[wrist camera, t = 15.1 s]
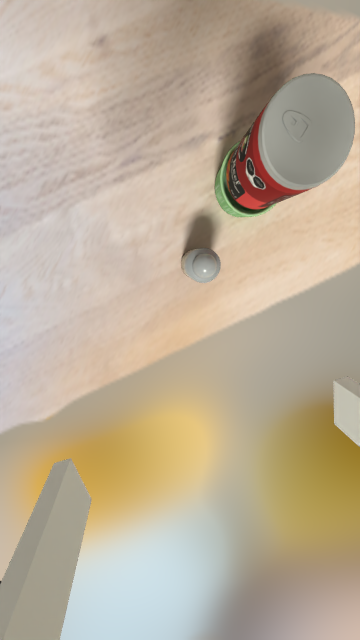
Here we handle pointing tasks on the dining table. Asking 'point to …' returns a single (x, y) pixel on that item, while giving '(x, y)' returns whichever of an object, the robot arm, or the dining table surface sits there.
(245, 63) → the dining table surface
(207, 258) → the pepper pot
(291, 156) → the canned food
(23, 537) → the robot arm
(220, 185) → the ramekin
